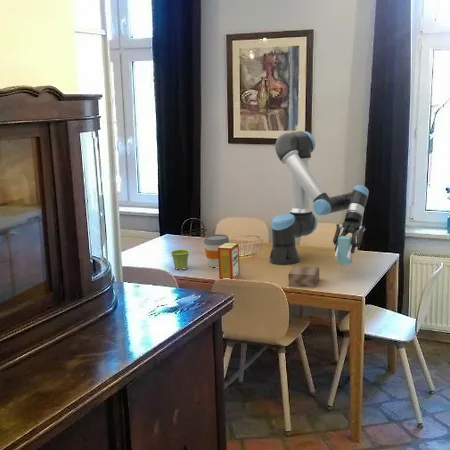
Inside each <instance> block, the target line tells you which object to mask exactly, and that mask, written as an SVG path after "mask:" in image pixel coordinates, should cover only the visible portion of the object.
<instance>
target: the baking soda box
mask: <svg viewBox="0 0 450 450" xmlns="http://www.w3.org/2000/svg"><path fill="white" fill-rule="evenodd" d="M218 261H219V268H218V274H219V275H218V279H223V278H230V279H233V278H236V277H237V278H238V277H240V276H241V274H240V273H241V270H240V268H241V267H240V247H239V243H234V242H229V243H225V244H223V245H222V246H220V247H218ZM239 275H240V276H239ZM237 278H236V279H237Z"/></svg>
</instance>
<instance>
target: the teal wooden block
mask: <svg viewBox="0 0 450 450" xmlns="http://www.w3.org/2000/svg"><path fill="white" fill-rule="evenodd" d="M350 245H352V236H348V235H346V236H341V237H340V236H339V238H338V259H337V264H338V265H346V266H350V265H351V264H352V263H353V254H352V255H351V258H350V260H348V259H347V255H348V251H349V248H350Z"/></svg>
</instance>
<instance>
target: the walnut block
mask: <svg viewBox="0 0 450 450" xmlns="http://www.w3.org/2000/svg"><path fill="white" fill-rule="evenodd" d="M319 281H320V267H319V266H317V267H316V266H312V267H311V266H293V267H292V268H291V269H290V270H289V273H288V287H294V286H295V288H296V287H298V288H316V287H317V286H318V284H319Z"/></svg>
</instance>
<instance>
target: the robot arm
mask: <svg viewBox="0 0 450 450" xmlns="http://www.w3.org/2000/svg"><path fill="white" fill-rule="evenodd" d="M274 148H275V149H274V150H275V154H276V156H277V158H278V159H279V161H280V162H281V164H282V165H286V167H287V168H288V169H289V171H290V172H291V190H292V191H291V193H292V195H291V196H292V208H291V209H290V210H289V213H283V214H278V215H276V216H274V217H273V218H272V220H271V234H272V235H271V236H272V247H271V250H270V254H269V262H270V263H271V264H275V265H293V264H296V263H298V262H300V255H299V252H298V250H297V245H296V239H298V238H301V237H306V236H309V235H311V234H313V233H314V232H316V229H317V226H318V218H317V216H316V215H318V216H327V215H329V214H333V213H336V212H341V211H345V210H346V213H345V216H344V221H343V222H342V224H338V223H337V224H336V228H335V229H336V230H335V232H334V236H333V239H332V243H333V245H334V246H335V248H334V252H335V254H334V258H335V259H336V260H338V238H339V237H341V236H348V234H351V237H352V245H350V248H349V251H348V255H347V259H348V260H350V258H351V255H352V256H353V254H354V253H355V250H356V248H357V247H358V248H360V247H361V244H362V241H363V236H364V233H365V232H366V228H365V225H361V223H362V220H363V216H364V212H365V208H366V205H367V202H368V198H369V193H370V192H369V189H368V187H366V186H364V185H362V184H357V185H355V186H354V187H353V189H352V191H350V192H347V193H343V194H338V195H334V196H329V194H328V193H327V192H326V191H325V189H324V188H323V187H322V186H321V184H320V182H318V180H317V179H316V177H315V176H314V174H313V173H312V172H311V171H310V169H309V161H310V160H311V158H312V153H313V152H314V150H315V149H316V140H315V137H314V135H312V134H311V133H310V132H309V131H306V130H303V131H302V130H299V131H291V132H284V133H283V134H280V135H279V136H278V138H277V139H276V141H275V145H274ZM310 199H311V201H312V202H313V205H312V208H313V209H312V208H311V207H310ZM313 212H314V213H313ZM342 228H343V230H342ZM341 230H342V232H341ZM357 231H359V232H358V235H357Z"/></svg>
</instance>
